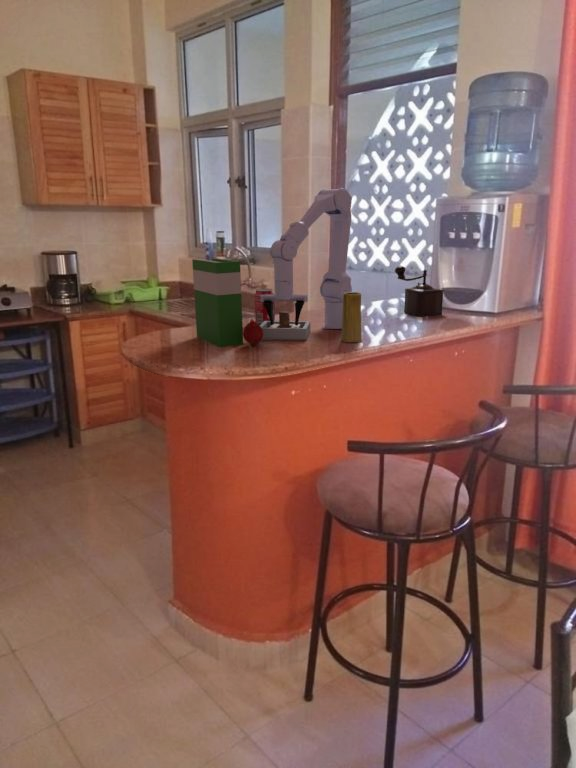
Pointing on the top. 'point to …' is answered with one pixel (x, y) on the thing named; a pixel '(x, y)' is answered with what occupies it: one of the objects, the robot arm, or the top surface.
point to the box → (286, 331)
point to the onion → (253, 333)
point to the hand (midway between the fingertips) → (284, 324)
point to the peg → (284, 319)
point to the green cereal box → (218, 301)
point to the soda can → (262, 306)
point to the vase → (351, 317)
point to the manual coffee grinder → (421, 297)
